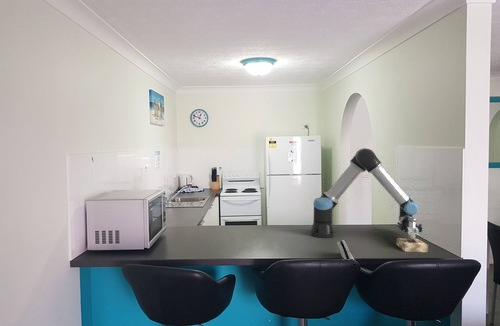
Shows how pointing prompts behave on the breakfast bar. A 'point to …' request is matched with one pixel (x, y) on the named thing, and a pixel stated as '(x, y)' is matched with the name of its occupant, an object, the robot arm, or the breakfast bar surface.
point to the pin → (412, 230)
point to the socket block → (412, 245)
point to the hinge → (344, 250)
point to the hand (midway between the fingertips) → (413, 232)
